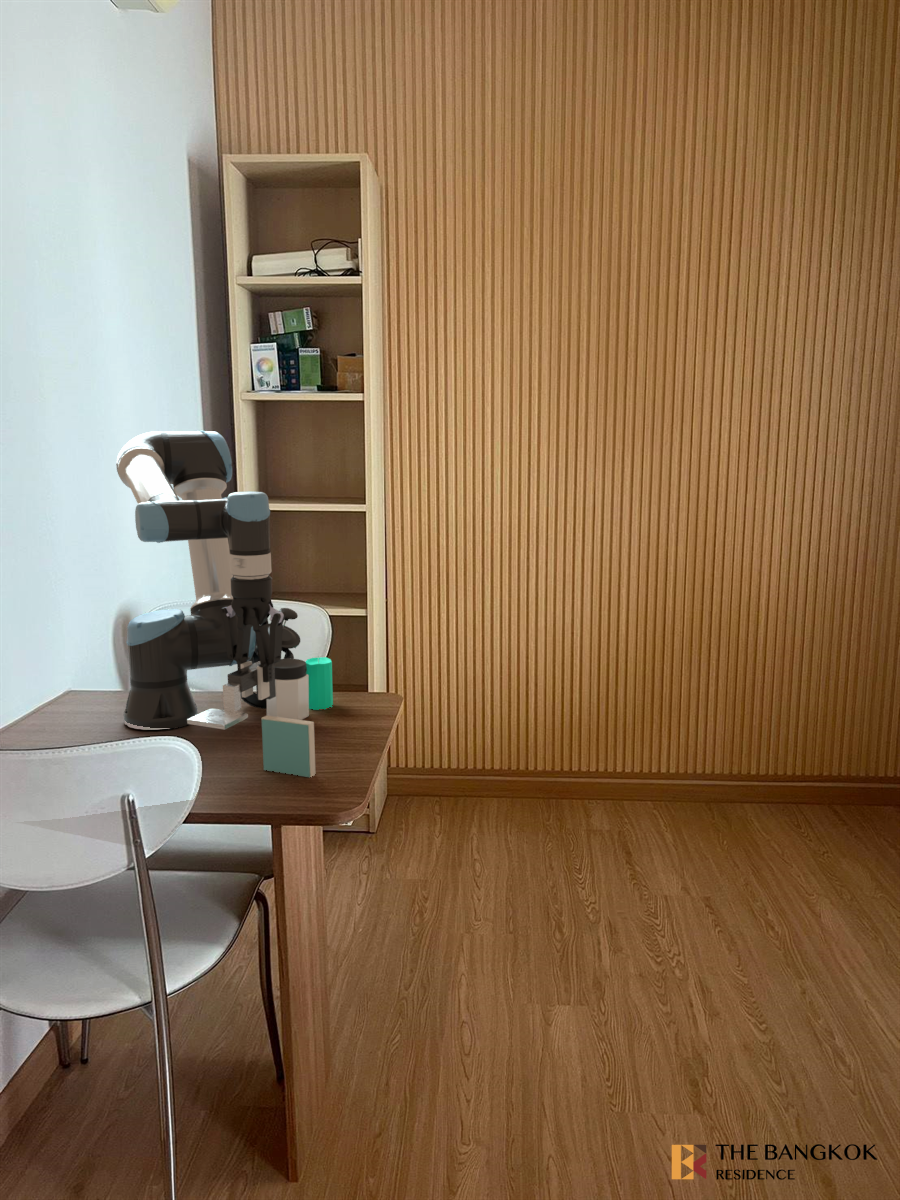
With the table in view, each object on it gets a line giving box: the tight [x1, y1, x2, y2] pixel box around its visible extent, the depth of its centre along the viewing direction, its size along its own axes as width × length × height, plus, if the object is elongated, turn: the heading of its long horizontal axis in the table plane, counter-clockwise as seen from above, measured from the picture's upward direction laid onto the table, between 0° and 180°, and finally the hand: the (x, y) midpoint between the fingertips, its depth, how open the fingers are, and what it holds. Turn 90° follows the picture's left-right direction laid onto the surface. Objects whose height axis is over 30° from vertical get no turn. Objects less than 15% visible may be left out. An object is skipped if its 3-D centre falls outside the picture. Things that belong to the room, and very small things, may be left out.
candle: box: [305, 656, 334, 711], centre depth 215 cm, size 6×6×12 cm
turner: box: [187, 661, 276, 730], centre depth 178 cm, size 20×8×7 cm, turn 157°
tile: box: [261, 714, 317, 778], centre depth 174 cm, size 2×10×10 cm, turn 67°
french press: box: [240, 607, 301, 710], centre depth 212 cm, size 12×9×23 cm
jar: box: [266, 658, 310, 720], centre depth 206 cm, size 9×8×12 cm
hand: (255, 696), depth 184 cm, fingers closed on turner, 3 cm apart
